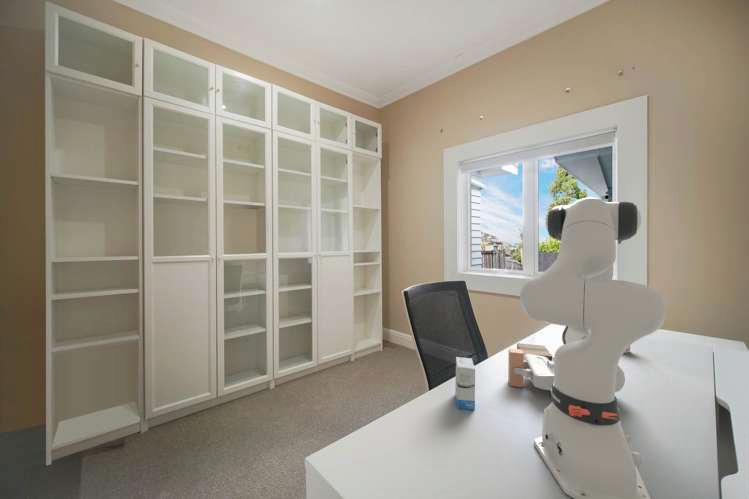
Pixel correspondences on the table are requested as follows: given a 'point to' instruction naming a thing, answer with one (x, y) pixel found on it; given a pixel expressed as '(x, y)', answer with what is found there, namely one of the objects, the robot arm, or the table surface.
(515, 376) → the terracotta block
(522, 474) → the table surface
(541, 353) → the block
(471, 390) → the ink box
